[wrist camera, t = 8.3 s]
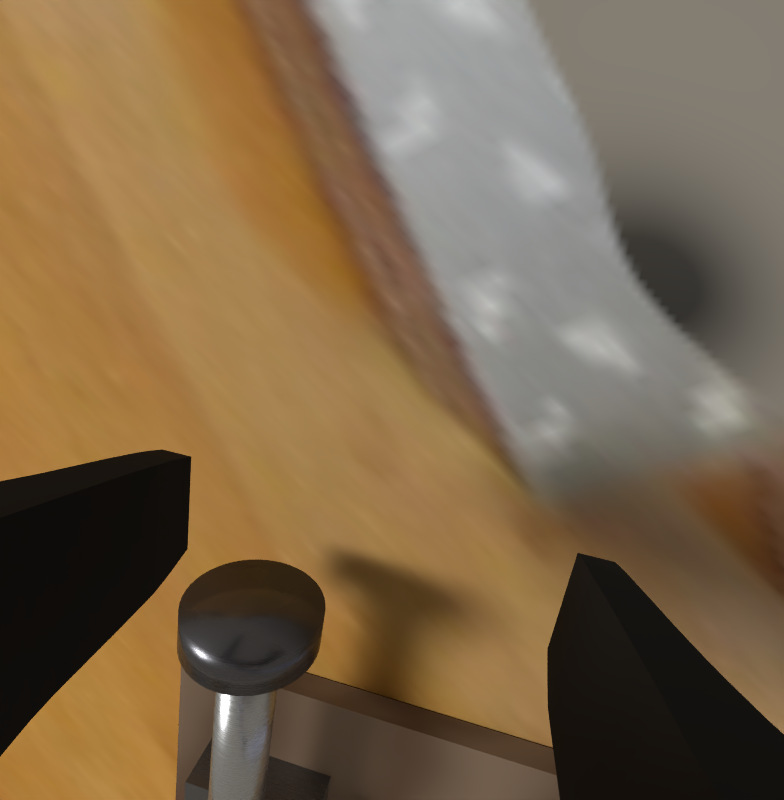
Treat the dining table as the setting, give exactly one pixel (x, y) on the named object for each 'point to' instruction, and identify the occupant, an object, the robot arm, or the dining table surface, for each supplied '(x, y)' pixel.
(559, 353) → the dining table surface
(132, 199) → the dining table surface
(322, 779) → the supports
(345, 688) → the board
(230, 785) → the shaft
